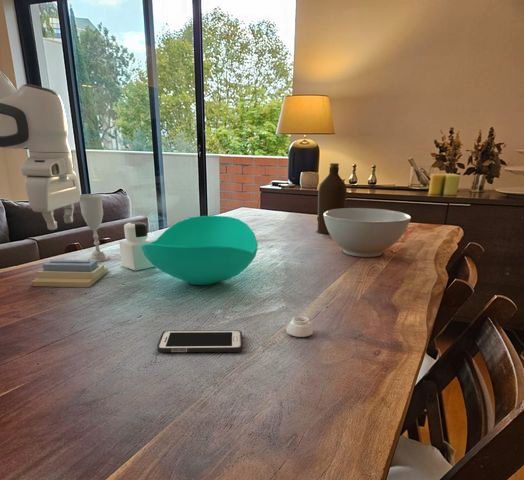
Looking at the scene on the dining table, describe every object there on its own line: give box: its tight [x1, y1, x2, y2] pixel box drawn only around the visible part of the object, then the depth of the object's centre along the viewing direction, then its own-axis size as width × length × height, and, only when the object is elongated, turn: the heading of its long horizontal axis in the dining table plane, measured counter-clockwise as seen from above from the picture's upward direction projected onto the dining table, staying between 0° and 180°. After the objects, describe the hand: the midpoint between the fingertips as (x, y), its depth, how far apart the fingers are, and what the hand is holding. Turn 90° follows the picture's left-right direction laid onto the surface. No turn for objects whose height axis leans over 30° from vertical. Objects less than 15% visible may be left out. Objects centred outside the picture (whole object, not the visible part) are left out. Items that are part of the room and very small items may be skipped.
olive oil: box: [316, 162, 348, 235], centre depth 174 cm, size 11×11×25 cm
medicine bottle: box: [119, 221, 156, 271], centre depth 127 cm, size 7×7×12 cm
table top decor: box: [142, 215, 259, 286], centre depth 114 cm, size 40×28×13 cm
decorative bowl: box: [324, 207, 412, 258], centre depth 146 cm, size 27×27×12 cm
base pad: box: [31, 264, 109, 288], centre depth 117 cm, size 14×14×3 cm
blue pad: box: [42, 259, 99, 272], centre depth 117 cm, size 12×5×3 cm, turn 89°
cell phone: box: [156, 329, 243, 353], centre depth 82 cm, size 8×15×1 cm, turn 93°
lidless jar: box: [286, 315, 314, 338], centre depth 87 cm, size 5×3×5 cm
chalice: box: [79, 194, 109, 262], centre depth 132 cm, size 7×7×18 cm
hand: (61, 225), depth 112 cm, fingers open, 8 cm apart
